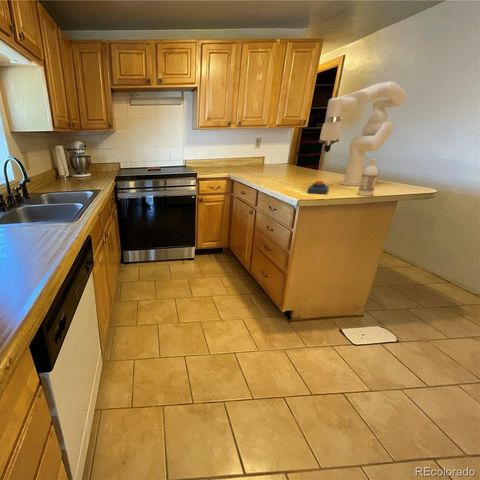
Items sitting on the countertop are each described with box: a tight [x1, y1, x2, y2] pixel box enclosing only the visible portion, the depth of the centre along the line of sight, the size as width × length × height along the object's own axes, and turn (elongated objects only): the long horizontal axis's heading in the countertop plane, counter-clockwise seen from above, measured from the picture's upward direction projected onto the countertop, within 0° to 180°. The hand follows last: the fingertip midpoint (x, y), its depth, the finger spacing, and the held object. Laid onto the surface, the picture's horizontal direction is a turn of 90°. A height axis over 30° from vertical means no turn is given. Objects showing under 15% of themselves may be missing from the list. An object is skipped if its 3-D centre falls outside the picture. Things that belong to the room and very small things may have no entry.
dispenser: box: [307, 182, 330, 195], centre depth 166 cm, size 13×10×5 cm
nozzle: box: [315, 180, 324, 184], centre depth 165 cm, size 4×4×2 cm
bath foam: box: [357, 158, 379, 196], centre depth 151 cm, size 7×7×20 cm
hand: (326, 152), depth 168 cm, fingers closed
